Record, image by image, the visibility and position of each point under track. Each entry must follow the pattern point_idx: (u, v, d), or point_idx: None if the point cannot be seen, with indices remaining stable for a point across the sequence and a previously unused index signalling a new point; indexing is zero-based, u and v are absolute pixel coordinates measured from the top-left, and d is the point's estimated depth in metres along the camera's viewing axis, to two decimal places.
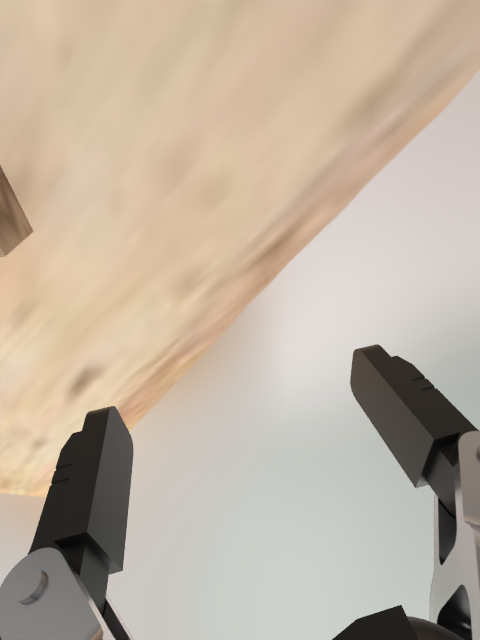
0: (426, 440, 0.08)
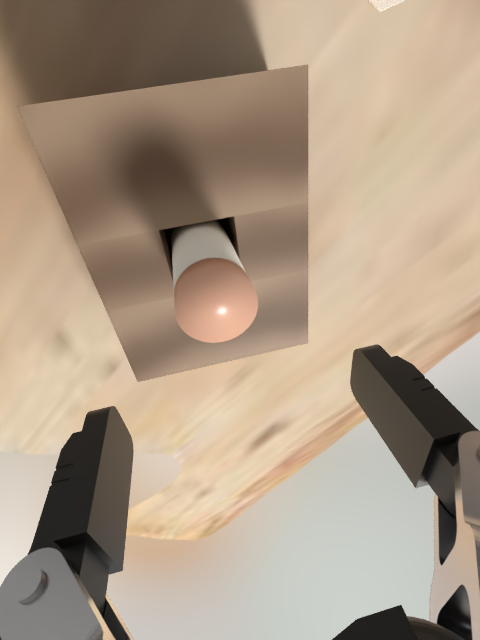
0: (426, 440, 0.08)
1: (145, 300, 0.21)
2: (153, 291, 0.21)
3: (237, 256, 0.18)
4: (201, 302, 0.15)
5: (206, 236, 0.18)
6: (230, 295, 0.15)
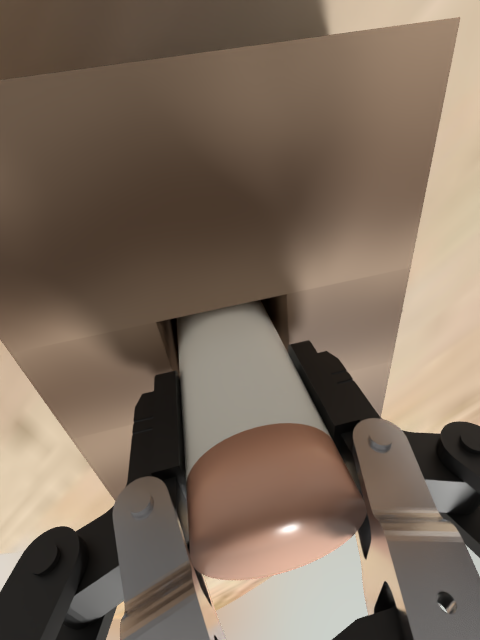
0: (331, 427, 0.08)
1: None
2: None
3: (300, 379, 0.10)
4: (249, 537, 0.07)
5: (243, 342, 0.10)
6: (313, 518, 0.07)
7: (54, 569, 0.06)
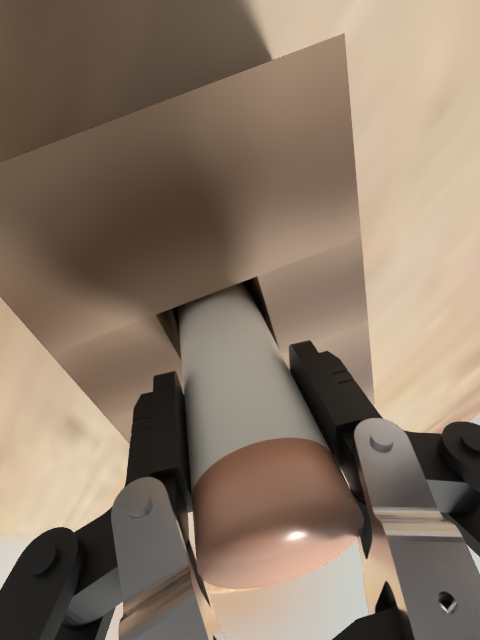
0: (333, 427, 0.08)
1: None
2: None
3: (294, 387, 0.10)
4: (250, 550, 0.07)
5: (234, 359, 0.10)
6: (308, 527, 0.07)
7: (52, 570, 0.06)
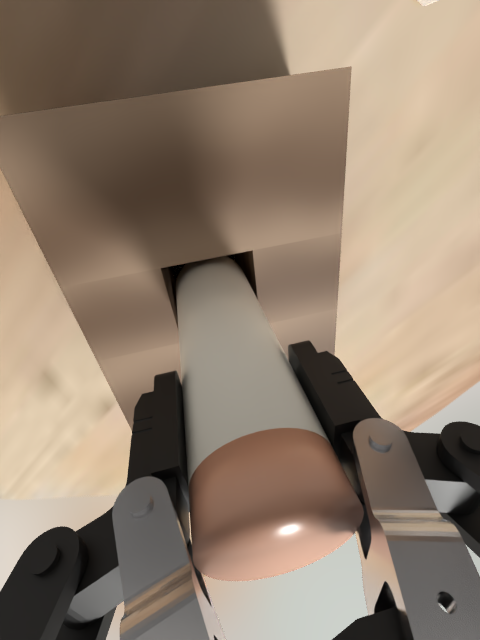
0: (332, 427, 0.08)
1: (144, 348, 0.17)
2: (153, 337, 0.17)
3: (300, 384, 0.10)
4: (250, 538, 0.07)
5: (244, 348, 0.10)
6: (311, 520, 0.07)
7: (54, 569, 0.06)
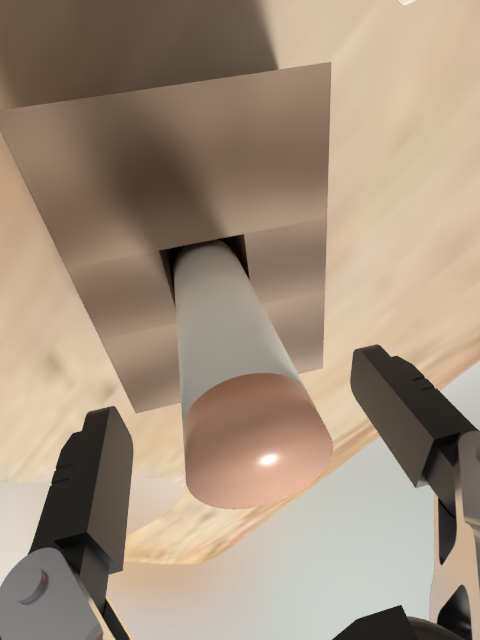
0: (426, 440, 0.08)
1: (144, 327, 0.19)
2: (153, 317, 0.18)
3: (282, 346, 0.11)
4: (234, 462, 0.08)
5: (233, 314, 0.11)
6: (287, 447, 0.08)
7: None
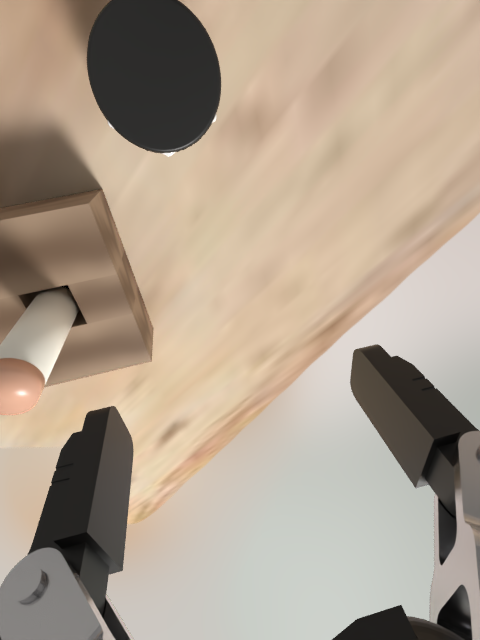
0: (426, 440, 0.08)
1: None
2: None
3: (42, 347, 0.24)
4: None
5: (20, 332, 0.24)
6: (11, 385, 0.21)
7: None
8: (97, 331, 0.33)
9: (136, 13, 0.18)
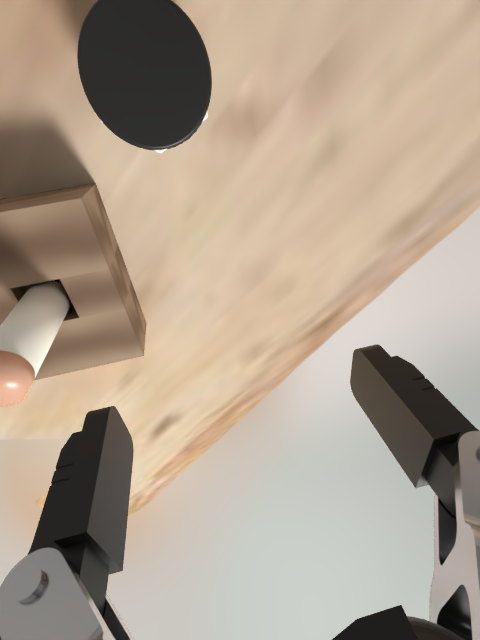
0: (426, 440, 0.08)
1: None
2: None
3: (33, 340, 0.24)
4: None
5: (11, 325, 0.25)
6: (1, 378, 0.22)
7: None
8: (89, 325, 0.34)
9: (127, 10, 0.18)
